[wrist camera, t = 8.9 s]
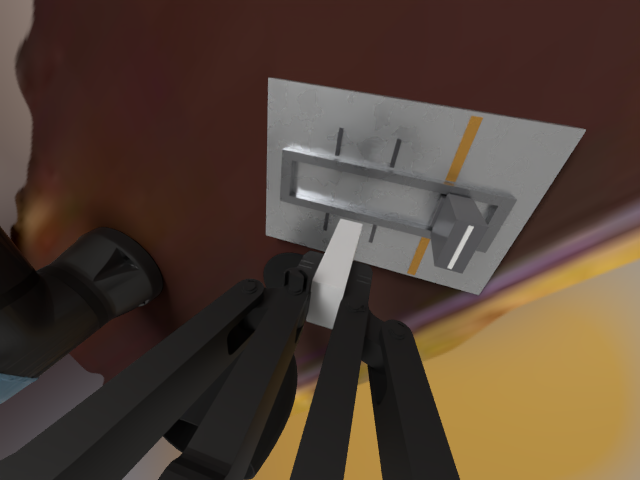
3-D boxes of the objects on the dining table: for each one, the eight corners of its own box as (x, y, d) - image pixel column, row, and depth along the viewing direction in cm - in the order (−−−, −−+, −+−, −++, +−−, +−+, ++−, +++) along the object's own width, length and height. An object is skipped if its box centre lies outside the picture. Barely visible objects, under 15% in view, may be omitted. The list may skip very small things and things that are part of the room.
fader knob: (427, 228, 24) (431, 266, 19) (443, 188, 22) (453, 219, 17) (453, 234, 24) (465, 275, 19) (473, 195, 22) (492, 228, 17)
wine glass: (347, 302, 35) (292, 494, 19) (290, 317, 40) (207, 477, 24) (307, 241, 32) (197, 406, 15) (250, 265, 37) (123, 409, 21)
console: (273, 227, 32) (261, 239, 30) (278, 78, 24) (262, 77, 21) (474, 282, 28) (481, 301, 26) (571, 126, 19) (595, 131, 17)
